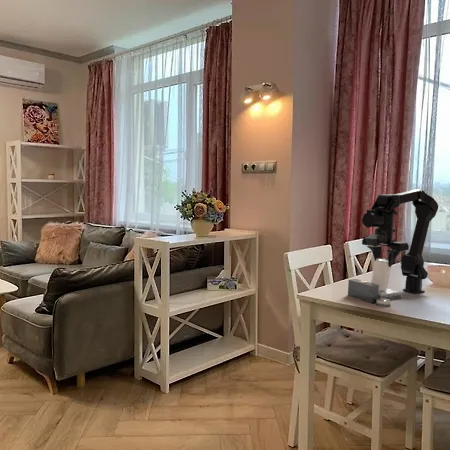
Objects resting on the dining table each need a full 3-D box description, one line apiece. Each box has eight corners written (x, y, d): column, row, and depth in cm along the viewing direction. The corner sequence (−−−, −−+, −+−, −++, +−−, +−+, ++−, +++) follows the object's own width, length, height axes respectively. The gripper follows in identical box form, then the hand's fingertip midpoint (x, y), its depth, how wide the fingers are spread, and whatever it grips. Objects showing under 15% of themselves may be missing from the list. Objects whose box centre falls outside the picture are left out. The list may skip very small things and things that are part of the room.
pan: (378, 287, 196) (378, 285, 196) (399, 293, 186) (399, 291, 186) (358, 290, 190) (359, 288, 190) (379, 296, 181) (379, 294, 181)
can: (366, 286, 189) (371, 257, 187) (380, 286, 191) (385, 257, 189) (376, 291, 183) (382, 261, 181) (390, 291, 185) (395, 262, 183)
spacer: (382, 302, 179) (383, 297, 179) (393, 306, 175) (393, 300, 174) (373, 304, 177) (373, 299, 176) (383, 307, 172) (383, 302, 172)
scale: (376, 290, 197) (377, 274, 196) (401, 298, 185) (402, 281, 185) (346, 295, 189) (347, 278, 188) (371, 303, 177) (372, 285, 177)
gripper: (353, 224, 188) (351, 263, 189) (390, 229, 172) (388, 271, 173) (372, 223, 193) (370, 260, 195) (410, 228, 177) (408, 268, 179)
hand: (383, 265), depth 185 cm, fingers open, 6 cm apart
